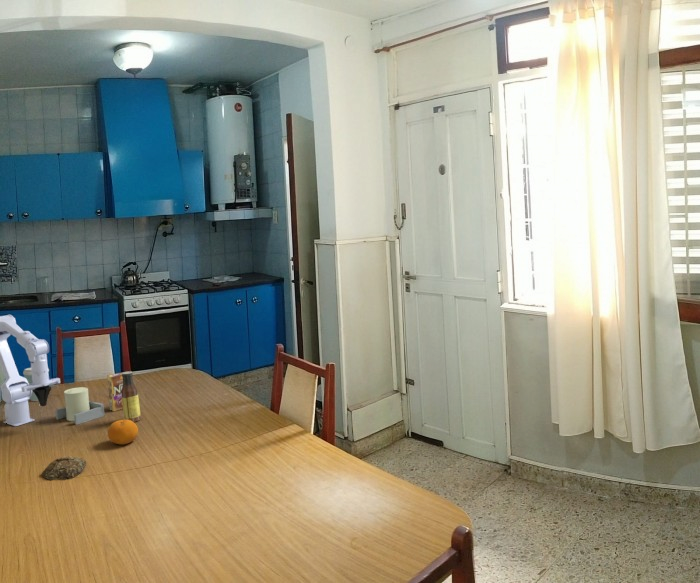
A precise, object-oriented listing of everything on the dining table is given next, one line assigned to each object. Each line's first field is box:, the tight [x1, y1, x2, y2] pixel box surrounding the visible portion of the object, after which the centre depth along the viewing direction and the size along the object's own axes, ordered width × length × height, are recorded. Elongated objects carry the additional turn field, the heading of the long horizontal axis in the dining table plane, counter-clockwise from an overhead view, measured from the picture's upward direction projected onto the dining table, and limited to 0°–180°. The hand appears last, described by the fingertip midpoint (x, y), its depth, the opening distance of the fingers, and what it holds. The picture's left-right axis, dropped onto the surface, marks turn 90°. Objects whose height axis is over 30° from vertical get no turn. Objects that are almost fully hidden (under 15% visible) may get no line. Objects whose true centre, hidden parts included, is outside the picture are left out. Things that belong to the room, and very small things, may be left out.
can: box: [63, 386, 90, 422], centre depth 256 cm, size 9×9×12 cm
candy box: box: [107, 372, 123, 412], centre depth 266 cm, size 9×4×15 cm, turn 134°
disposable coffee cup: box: [22, 367, 50, 402], centre depth 284 cm, size 11×11×15 cm
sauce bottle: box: [121, 371, 141, 423], centre depth 249 cm, size 7×6×20 cm
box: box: [54, 400, 105, 426], centre depth 256 cm, size 14×13×5 cm
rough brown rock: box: [41, 455, 87, 481], centre depth 201 cm, size 13×12×5 cm
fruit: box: [107, 418, 139, 446], centre depth 226 cm, size 10×10×8 cm
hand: (43, 405), depth 243 cm, fingers closed
